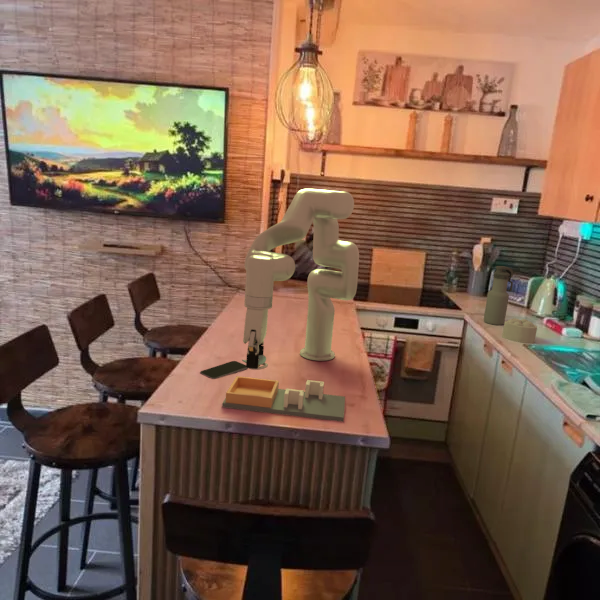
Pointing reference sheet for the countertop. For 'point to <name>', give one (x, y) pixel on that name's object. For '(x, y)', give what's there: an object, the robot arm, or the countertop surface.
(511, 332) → the lumpy-topped squat cylinder
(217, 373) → the smartphone
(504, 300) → the water bottle
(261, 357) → the pacifier
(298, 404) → the board
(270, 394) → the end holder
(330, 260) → the robot arm
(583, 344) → the countertop surface
